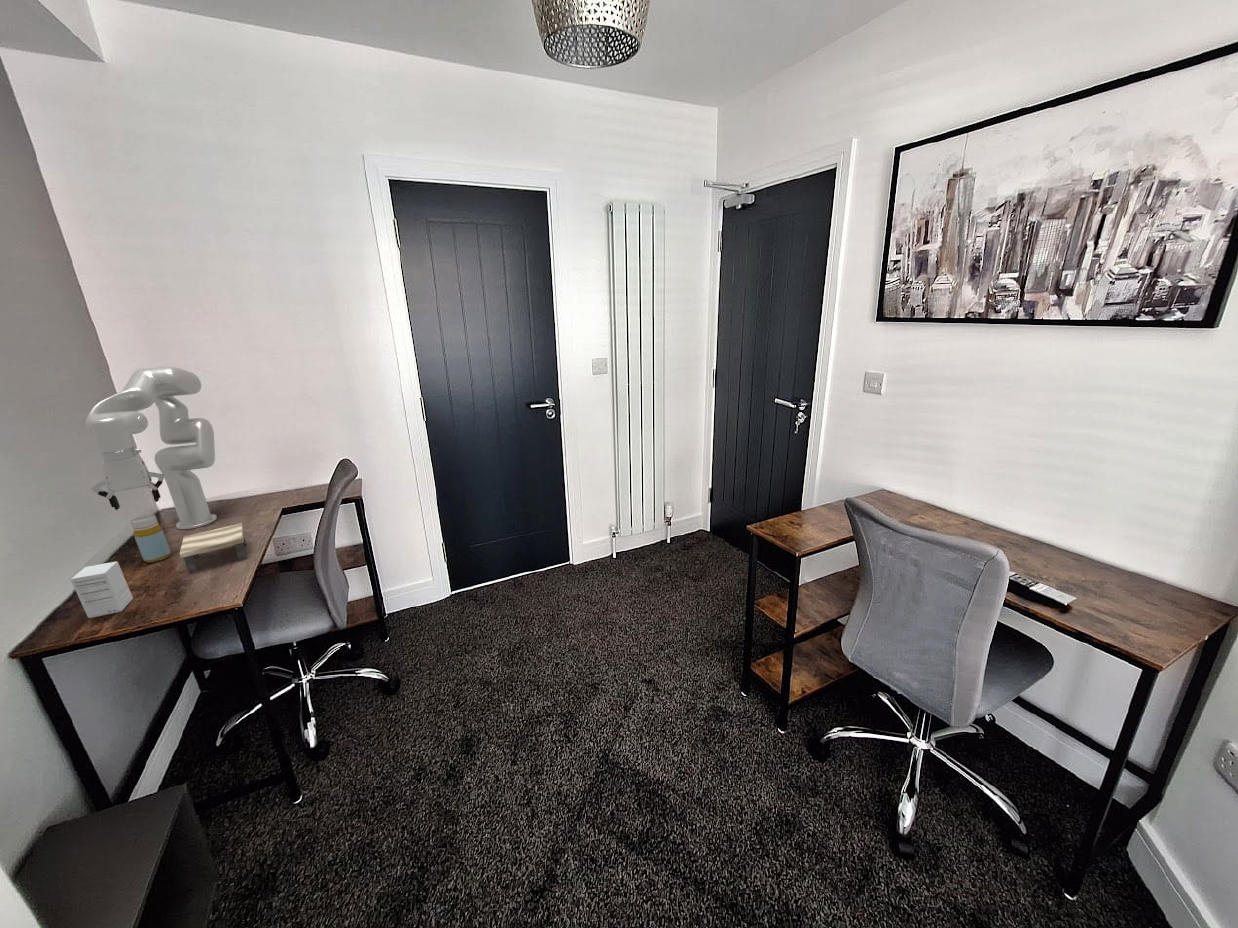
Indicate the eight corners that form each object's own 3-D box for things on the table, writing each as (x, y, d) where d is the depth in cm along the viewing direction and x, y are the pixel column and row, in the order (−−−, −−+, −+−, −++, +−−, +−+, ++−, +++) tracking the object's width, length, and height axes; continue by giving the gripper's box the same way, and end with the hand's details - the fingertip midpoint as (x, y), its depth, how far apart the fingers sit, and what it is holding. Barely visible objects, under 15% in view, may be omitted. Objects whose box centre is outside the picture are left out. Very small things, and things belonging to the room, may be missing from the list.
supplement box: (101, 605, 140) (84, 566, 136) (134, 598, 143) (118, 560, 139) (86, 619, 133) (68, 579, 130) (121, 611, 136) (105, 572, 132)
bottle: (155, 564, 163) (139, 523, 158) (138, 562, 164) (123, 522, 159) (176, 553, 169) (162, 514, 164) (161, 552, 170) (146, 513, 166)
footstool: (190, 556, 167) (183, 536, 165) (247, 541, 176) (241, 523, 174) (187, 574, 155) (179, 553, 152) (248, 558, 164) (242, 538, 161)
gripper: (156, 447, 163) (173, 494, 168) (83, 458, 153) (103, 508, 158) (153, 452, 157) (171, 500, 162) (77, 463, 147) (98, 515, 152)
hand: (137, 504), depth 160 cm, fingers open, 9 cm apart
